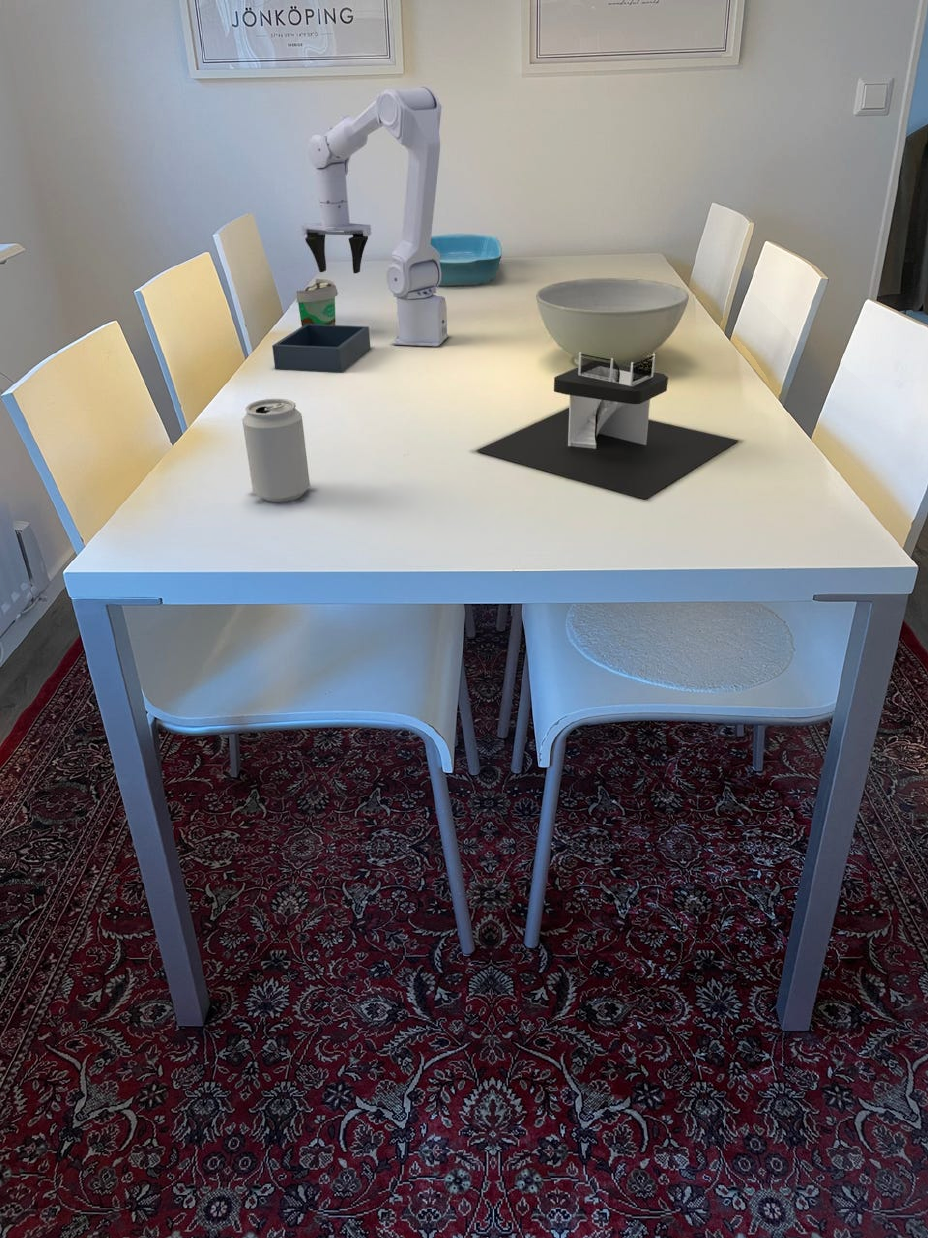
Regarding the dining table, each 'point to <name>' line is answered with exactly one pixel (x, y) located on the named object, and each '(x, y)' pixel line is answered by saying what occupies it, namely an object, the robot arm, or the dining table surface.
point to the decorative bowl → (611, 316)
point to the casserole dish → (467, 258)
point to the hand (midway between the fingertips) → (339, 271)
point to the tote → (321, 347)
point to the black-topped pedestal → (610, 432)
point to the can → (276, 450)
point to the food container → (318, 303)
